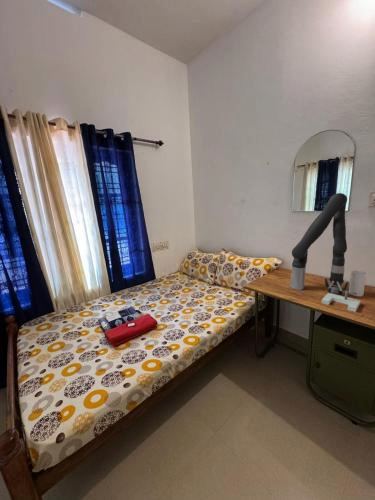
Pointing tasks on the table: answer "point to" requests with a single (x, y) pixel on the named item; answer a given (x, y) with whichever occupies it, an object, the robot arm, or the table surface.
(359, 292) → the cup
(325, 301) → the board
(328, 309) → the table surface
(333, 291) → the grooved grey cylinder
